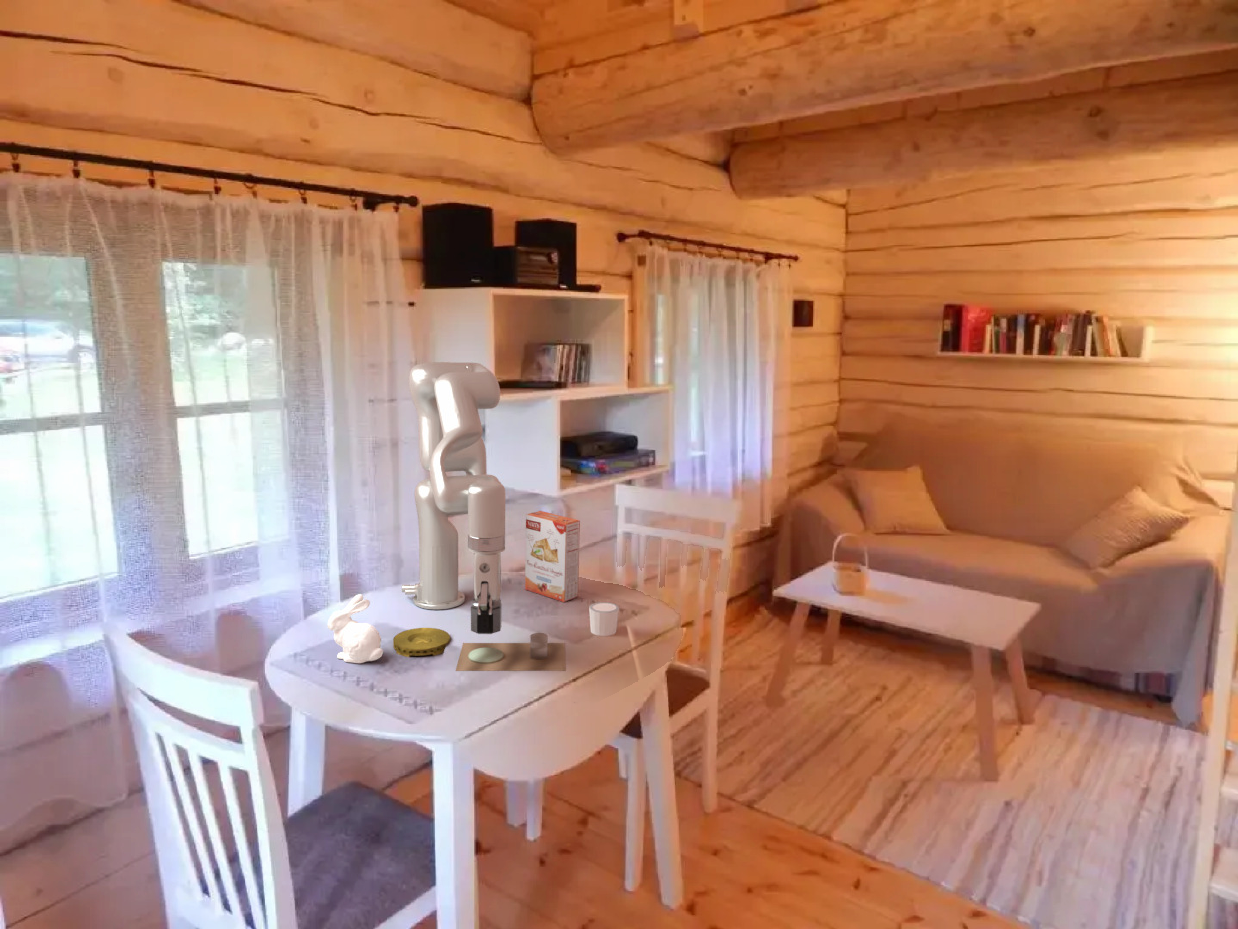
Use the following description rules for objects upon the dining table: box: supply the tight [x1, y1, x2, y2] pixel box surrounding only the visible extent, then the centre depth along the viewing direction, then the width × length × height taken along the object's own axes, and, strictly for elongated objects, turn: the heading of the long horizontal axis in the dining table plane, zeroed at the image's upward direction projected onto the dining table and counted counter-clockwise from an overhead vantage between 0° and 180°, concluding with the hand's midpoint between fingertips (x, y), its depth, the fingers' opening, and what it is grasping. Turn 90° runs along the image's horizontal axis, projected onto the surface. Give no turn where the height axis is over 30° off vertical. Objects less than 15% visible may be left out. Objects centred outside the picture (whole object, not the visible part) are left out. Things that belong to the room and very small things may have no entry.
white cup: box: [588, 601, 620, 637], centre depth 188 cm, size 7×7×7 cm
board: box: [455, 632, 566, 672], centre depth 173 cm, size 22×14×6 cm, turn 95°
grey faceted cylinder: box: [470, 596, 502, 635], centre depth 171 cm, size 6×6×6 cm
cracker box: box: [524, 510, 581, 603], centre depth 213 cm, size 14×6×21 cm, turn 52°
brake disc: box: [392, 627, 451, 658], centre depth 179 cm, size 12×12×2 cm
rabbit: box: [327, 593, 384, 664], centre depth 173 cm, size 12×9×12 cm
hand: (486, 625), depth 171 cm, fingers closed on grey faceted cylinder, 6 cm apart
